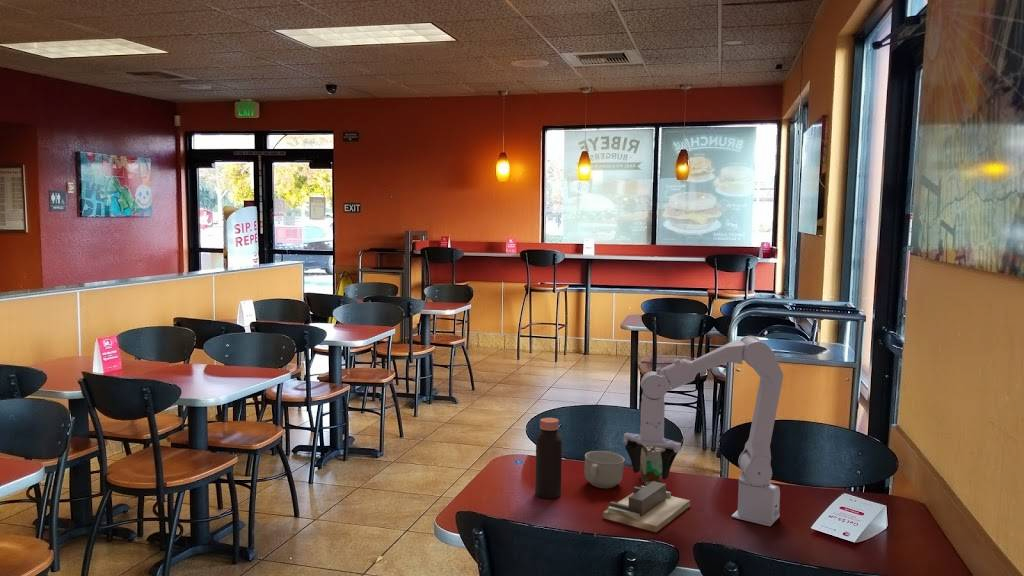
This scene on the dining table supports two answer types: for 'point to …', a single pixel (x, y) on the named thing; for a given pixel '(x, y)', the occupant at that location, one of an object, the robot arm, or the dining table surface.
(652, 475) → the food container
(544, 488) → the bottle
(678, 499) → the display stand
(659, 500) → the grey boxy piece
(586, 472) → the teacup
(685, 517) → the dining table surface
